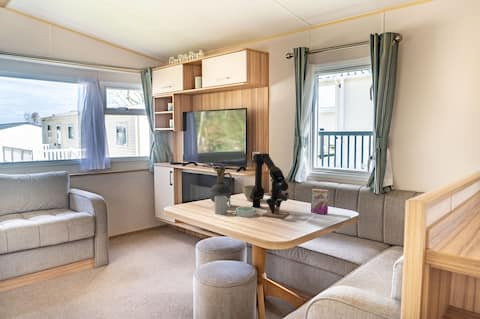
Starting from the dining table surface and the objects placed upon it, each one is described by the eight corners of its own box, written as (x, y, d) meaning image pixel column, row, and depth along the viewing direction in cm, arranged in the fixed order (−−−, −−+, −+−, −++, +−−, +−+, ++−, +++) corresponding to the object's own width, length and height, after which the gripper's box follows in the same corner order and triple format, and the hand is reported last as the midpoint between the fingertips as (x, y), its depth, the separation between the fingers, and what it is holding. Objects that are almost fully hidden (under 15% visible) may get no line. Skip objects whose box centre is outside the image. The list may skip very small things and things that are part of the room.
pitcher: (207, 206, 254) (207, 165, 252) (226, 202, 268) (226, 164, 265) (217, 208, 247) (217, 167, 244) (236, 204, 260) (236, 165, 258)
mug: (218, 214, 230) (218, 198, 229) (212, 212, 236) (212, 196, 235) (233, 212, 237) (233, 196, 236) (226, 210, 243) (226, 194, 242)
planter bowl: (240, 198, 284) (240, 185, 283) (259, 197, 287) (259, 185, 287) (245, 202, 268) (245, 188, 267) (265, 201, 272) (265, 188, 271)
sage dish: (241, 212, 238) (241, 205, 238) (258, 214, 233) (258, 207, 232) (232, 216, 227) (232, 209, 226) (250, 218, 221) (250, 211, 221)
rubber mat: (268, 211, 239) (268, 211, 239) (290, 214, 232) (290, 213, 232) (259, 216, 225) (259, 216, 225) (282, 220, 218) (282, 219, 218)
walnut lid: (269, 211, 238) (269, 204, 238) (289, 214, 232) (289, 206, 231) (261, 216, 226) (261, 208, 225) (281, 218, 219) (282, 211, 219)
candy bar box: (310, 213, 236) (311, 189, 235) (311, 211, 241) (312, 188, 239) (327, 214, 232) (328, 190, 231) (328, 213, 237) (328, 189, 236)
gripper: (282, 192, 215) (282, 216, 217) (292, 187, 232) (291, 210, 233) (266, 190, 220) (265, 214, 222) (276, 186, 237) (276, 208, 238)
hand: (275, 211), depth 229 cm, fingers open, 9 cm apart
